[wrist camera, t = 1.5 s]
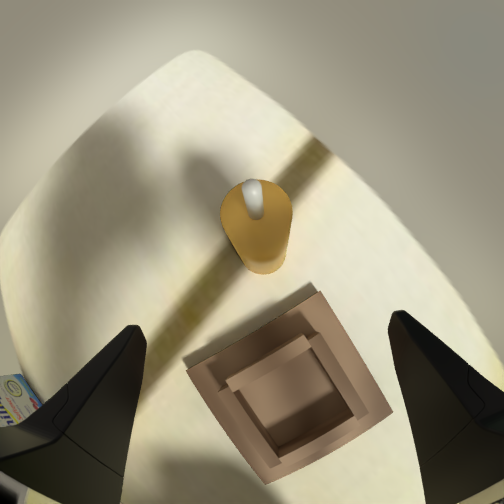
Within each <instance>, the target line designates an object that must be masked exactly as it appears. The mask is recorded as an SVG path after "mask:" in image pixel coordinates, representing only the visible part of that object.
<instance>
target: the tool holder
mask: <svg viewBox="0 0 504 504" xmlns="http://www.w3.org/2000/svg"><path fill="white" fill-rule="evenodd" d="M186 372H187V374H188V375H189V377H190V379H191V380H192V382H193V384H194V385H195V387H196V388H197V390H198V392H199V393H200V395H201V396H202V398H203V399H204V401H205V403H206V404H207V406H208V407H209V409H210V410H211V412H212V413H213V415H214V416H215V418H216V419H217V421H218V422H219V424H220V425H221V426H222V428H223V429H224V431H225V432H226V434H227V435H228V436H229V438H230V439H231V441H232V442H233V443H234V445H235V446H236V448H237V449H238V450H239V452H240V453H241V454H242V456H243V457H244V458H245V460H246V461H247V462H248V464H249V465H250V466H251V468H252V469H253V470H254V471H255V473H256V474H257V475H258V477H259V478H260V479H261V480H262V482H263V483H264V484H265V485H266V484H269V483H271V482H273V481H276V480H278V479H280V478H282V477H284V476H287V475H289V474H291V473H293V472H295V471H297V470H299V469H301V468H303V467H305V466H307V465H309V464H311V463H313V462H315V461H317V460H319V459H320V458H322V457H324V456H326V455H328V454H329V453H331V452H333V451H335V450H336V449H338V448H340V447H342V446H343V445H345V444H347V443H348V442H350V441H351V440H353V439H355V438H356V437H358V436H359V435H361V434H362V433H364V432H366V431H367V430H369V429H370V428H372V427H373V426H375V425H376V424H377V423H379V422H380V421H382V420H383V419H385V418H386V417H387V416H389V415H390V414H392V413H393V411H392V409H391V407H390V406H389V404H388V402H387V400H386V399H385V397H384V395H383V393H382V392H381V390H380V388H379V386H378V385H377V383H376V381H375V380H374V378H373V376H372V374H371V373H370V371H369V369H368V368H367V366H366V364H365V363H364V361H363V359H362V358H361V356H360V354H359V353H358V351H357V349H356V348H355V346H354V344H353V343H352V341H351V339H350V338H349V336H348V334H347V333H346V331H345V330H344V328H343V326H342V325H341V323H340V321H339V320H338V318H337V317H336V315H335V313H334V312H333V310H332V308H331V307H330V305H329V304H328V302H327V300H326V299H325V297H324V296H323V294H322V293H321V291H319V292H317V293H316V294H314V295H313V296H311V297H310V298H308V299H306V300H305V301H303V302H302V303H300V304H299V305H297V306H295V307H294V308H292V309H291V310H289V311H287V312H286V313H284V314H283V315H281V316H279V317H278V318H276V319H275V320H273V321H271V322H270V323H268V324H266V325H265V326H263V327H261V328H260V329H258V330H256V331H255V332H253V333H251V334H250V335H248V336H246V337H244V338H243V339H241V340H239V341H238V342H236V343H234V344H232V345H231V346H229V347H227V348H225V349H224V350H222V351H220V352H218V353H217V354H215V355H213V356H211V357H209V358H208V359H206V360H204V361H202V362H200V363H198V364H197V365H195V366H193V367H191V368H189V369H187V370H186Z"/></svg>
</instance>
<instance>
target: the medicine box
mask: <svg viewBox="0 0 504 504" xmlns="http://www.w3.org/2000/svg"><path fill="white" fill-rule="evenodd" d="M41 406H42V404H41V402H40V401H39V400H38V398H37V397H36V395H35V394H34V393H33V391H32V390H31V388H30V387H29V385H28V384H27V382H26V381H25V379H24V378H23V376H22V375H21V374H14V375H7V376H0V427H6V426H13V425H16V424H18V423H20V422H22V421H23V420H25V419H26V418H27V417H28V416H30V415H31V414H32V413H33V412H35V411H36V410H37V409H38V408H39V407H41Z"/></svg>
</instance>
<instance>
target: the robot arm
mask: <svg viewBox="0 0 504 504" xmlns="http://www.w3.org/2000/svg"><path fill="white" fill-rule="evenodd" d="M388 335H389V340H390V345H391V350H392V356H393V361H394V366H395V371H396V374H397V378H398V381H399V385H400V388H401V392H402V395H403V399H404V403H405V406H406V410H407V414H408V418H409V422H410V426H411V430H412V434H413V438H414V443H415V447H416V452H417V457H418V461H419V466H420V472H421V478H422V483H423V489H424V495H425V501H426V504H457V503H459V504H504V392H503V391H502V390H500V389H499V388H498V387H496V386H495V385H494V384H492V383H491V382H490V381H488V380H487V379H486V378H484V377H483V376H482V375H481V374H480V373H479V372H477V371H476V370H475V369H474V368H473V367H472V366H470V365H468V363H467V362H466V361H465V360H463V359H462V358H461V357H460V356H459V355H458V354H457V353H455V352H454V351H453V350H452V349H451V348H450V347H448V346H447V345H446V344H445V343H444V342H442V341H441V340H440V339H439V338H438V337H436V336H435V335H434V334H433V333H432V332H430V331H429V330H428V329H427V328H426V327H424V326H423V325H422V324H421V323H420V322H418V321H417V320H416V319H415V318H413V317H412V316H411V315H410V314H409V313H407V312H406V311H404V310H398V311H394V312H393V313H392V316H391V319H390V323H389V326H388ZM146 348H147V342H146V339H145V337H144V334H143V332H142V330H141V328H140V326H138V325H128V326H126V327H125V328H124V329H123V330H122V331H121V332H120V333H119V334H118V335H117V336H116V337H115V338H113V339H112V340H111V341H110V342H109V343H108V344H107V345H106V346H105V347H104V348H103V349H102V350H101V351H100V352H99V353H98V354H96V355H95V356H94V357H93V358H92V359H91V360H90V361H89V362H88V363H87V364H86V365H85V366H84V367H83V368H82V369H81V370H80V371H79V372H78V373H77V374H76V375H75V376H73V377H72V378H71V379H70V380H69V381H68V384H67V383H66V384H65V385H64V386H63V387H62V388H61V389H60V390H59V391H58V392H57V393H56V394H55V395H54V396H52V397H51V398H50V399H49V400H48V401H47V402H45V403H44V404H43V405H42V406H41V407H39V408H38V409H37V410H36V411H35V412H33V413H32V414H31V415H30V416H28V417H27V418H26V419H25V420H23V421H22V422H20V423H18V424H16V425H13V426H6V427H0V504H120V500H121V493H122V486H123V479H124V478H123V477H124V472H125V466H126V460H127V454H128V448H129V443H130V438H131V432H132V427H133V422H134V417H135V413H136V408H137V403H138V399H139V394H140V390H141V385H142V380H143V372H144V363H145V355H146Z"/></svg>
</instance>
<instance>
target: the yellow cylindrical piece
mask: <svg viewBox="0 0 504 504" xmlns="http://www.w3.org/2000/svg"><path fill="white" fill-rule="evenodd" d="M220 219H221V223H222V226H223V228H224V230H225V232H226V234H227V236H228V237H229V239H230V241H231V242H232V244H233V246H234V248H235V249H236V251H237V253H238V254H239V256H240V258H241V260H242V261H243V263H244V265H245V266H246V267H247V268H248V269H249V270H250V271H252V272H254V273H257V274H270V273H273V272H275V271H276V270H278V269H279V268H280V267H281V265H282V264H283V262H284V260H285V257H286V251H287V245H288V239H289V234H290V228H291V222H292V205H291V202H290V200H289V197H288V196H287V194H286V193H285V192H284V191H283V190H282V189H281V188H280V187H279V186H277V185H276V184H274V183H272V182H269V181H265V180H256V179H248V180H246V181H245V182H242V183H240V184H238V185H237V186H235V187H234V188H233V189H231V190H230V191H229V193H228V194H227V195H226V197H225V198H224V200H223V203H222V205H221V210H220Z"/></svg>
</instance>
